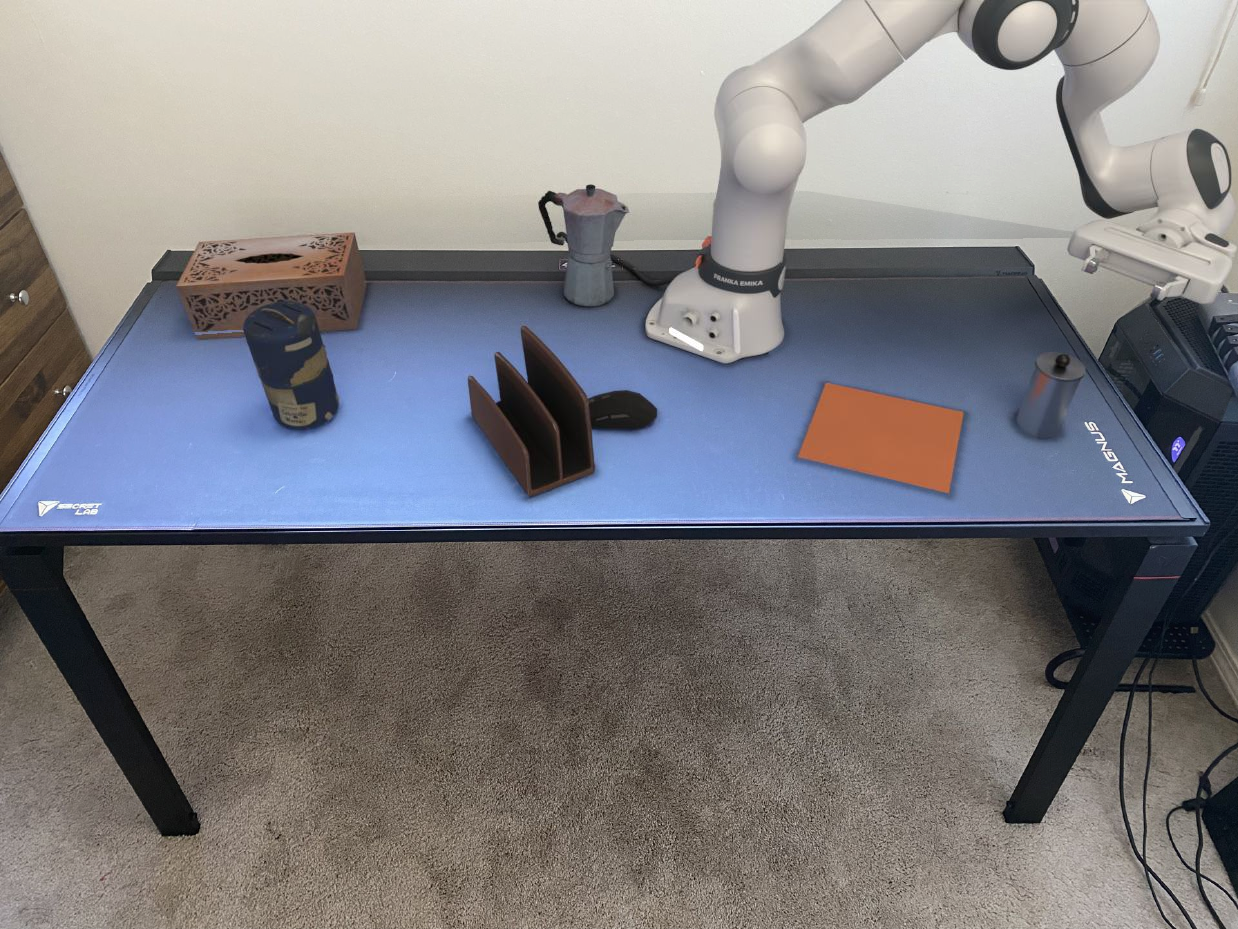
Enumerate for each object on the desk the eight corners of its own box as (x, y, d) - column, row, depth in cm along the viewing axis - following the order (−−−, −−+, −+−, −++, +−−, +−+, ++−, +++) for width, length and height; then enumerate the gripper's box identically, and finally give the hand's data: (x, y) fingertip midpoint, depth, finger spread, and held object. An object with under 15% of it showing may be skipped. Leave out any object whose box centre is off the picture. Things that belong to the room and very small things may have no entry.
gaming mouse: (556, 403, 132) (555, 381, 129) (657, 404, 131) (657, 382, 129) (553, 430, 127) (551, 408, 125) (656, 432, 127) (657, 410, 124)
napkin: (797, 458, 122) (797, 456, 122) (825, 384, 134) (825, 382, 134) (948, 495, 116) (949, 492, 116) (963, 414, 129) (963, 411, 128)
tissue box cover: (366, 284, 158) (354, 232, 151) (357, 329, 147) (343, 275, 141) (218, 293, 156) (199, 241, 150) (197, 339, 146) (176, 286, 139)
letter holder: (533, 396, 133) (525, 315, 124) (596, 473, 120) (592, 390, 111) (471, 417, 130) (458, 336, 120) (529, 499, 117) (519, 416, 107)
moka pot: (625, 313, 150) (623, 201, 136) (536, 304, 152) (526, 194, 139) (635, 284, 157) (635, 175, 143) (550, 276, 159) (542, 168, 146)
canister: (320, 386, 136) (289, 283, 124) (354, 414, 131) (325, 308, 119) (263, 415, 131) (225, 309, 119) (295, 444, 126) (259, 337, 114)
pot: (1012, 433, 125) (1039, 362, 117) (1015, 408, 130) (1041, 337, 121) (1060, 444, 124) (1089, 372, 115) (1061, 417, 128) (1090, 347, 120)
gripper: (1101, 201, 131) (1056, 232, 124) (1250, 250, 120) (1209, 288, 113) (1086, 240, 135) (1041, 272, 128) (1229, 291, 124) (1188, 330, 117)
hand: (1121, 280), depth 120 cm, fingers open, 8 cm apart
